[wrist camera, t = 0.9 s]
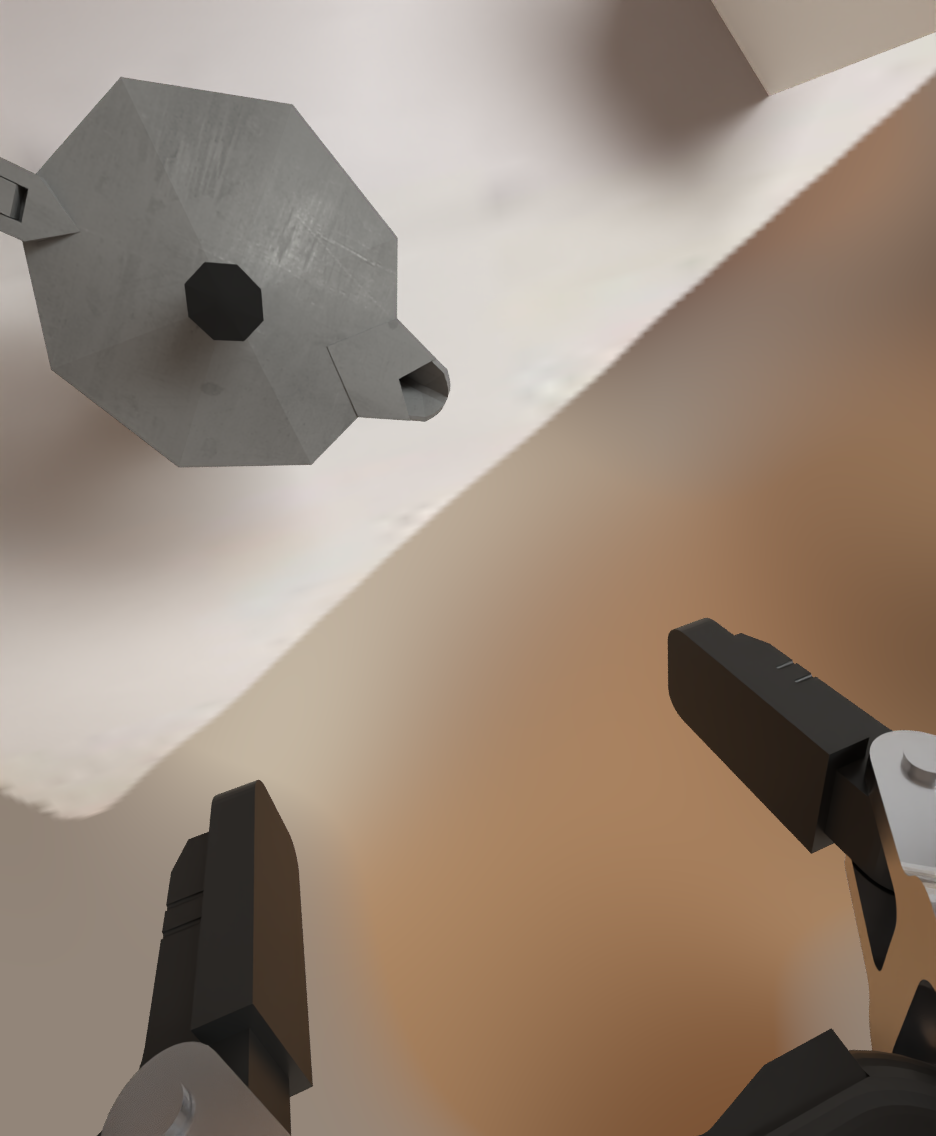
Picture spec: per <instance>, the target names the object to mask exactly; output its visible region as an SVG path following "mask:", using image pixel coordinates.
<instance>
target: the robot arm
mask: <svg viewBox="0 0 936 1136" xmlns="http://www.w3.org/2000/svg"><path fill="white" fill-rule="evenodd" d="M668 689H669V695H670V698H671V701H672V704H673V706H674V708H675V710H676V711H677V713H678V714H679V716H680V717H681V718H682V719H683V721H684V722H685V723H686V724H687V725H688V726H689V727H690V728H691V729H692V730H693V731H694V732H695V733H696V734H697V735H698V736H699V737H700V738H701V739H702V740H703V741H704V742H705V743H706V745H707V746H708V747H709V748H710V749H711V750H712V751H713V752H714V753H715V754H716V755H717V756H718V757H719V758H720V759H721V760H722V761H723V762H724V763H725V764H726V765H727V766H728V767H729V768H730V770H732V772H733V773H734V774H735V775H736V776H737V777H738V778H739V779H740V780H741V781H742V782H743V783H744V784H745V785H746V786H747V787H748V788H749V789H750V790H751V791H752V792H753V793H754V794H755V796H756V797H757V798H758V799H759V800H760V801H761V802H762V803H763V804H764V805H765V806H766V807H767V808H768V809H769V810H770V811H771V812H772V813H773V814H774V815H775V816H776V817H777V818H778V819H779V820H780V822H781V823H782V824H783V825H784V826H785V827H786V828H787V829H788V830H789V831H790V832H791V833H792V834H793V835H794V836H795V837H796V838H797V839H798V840H799V841H800V842H801V843H802V844H803V845H804V846H805V847H806V849H807V850H808V851H809V852H810V853H814V852H816V851H818V850H820V849H823V848H825V847H827V846H829V845H831V844H833V843H835V844H836V845H837V846H838V847H839V848H840V849H841V850H842V851H843V852H844V853H845V854H846V856H845V871H846V875H847V880H848V885H849V890H850V895H851V900H852V904H853V909H854V914H855V919H856V924H857V929H858V934H859V938H860V943H861V948H862V953H863V958H864V963H865V968H866V973H867V978H868V985H869V1027H870V1038H871V1045H872V1051H867V1050H849V1051H848V1049H847V1048H846V1047H845V1045H844V1044H843V1043H842V1041H841V1040H840V1039H839V1038H838V1036H837V1035H836V1034H835V1032H834V1031H833V1030H832V1029H829V1030H828V1031H826V1032H824V1033H822V1034H820V1035H819V1036H817V1037H815V1038H813V1039H811V1040H809V1041H808V1042H806V1043H804V1044H802V1045H800V1046H798V1047H797V1048H795V1049H793V1050H791V1051H789V1052H787V1053H785V1054H784V1055H782V1056H780V1057H778V1058H776V1059H774V1060H773V1061H771V1062H769V1063H767V1064H765V1065H764V1066H763V1067H762V1068H761V1069H760V1071H759V1072H758V1073H757V1074H756V1075H755V1077H754V1078H753V1079H752V1080H751V1081H750V1083H749V1084H748V1085H747V1086H746V1087H745V1088H744V1090H743V1091H742V1092H741V1093H740V1094H739V1096H738V1097H737V1098H736V1099H735V1100H734V1102H733V1103H732V1104H731V1105H730V1106H729V1108H728V1109H727V1110H726V1111H725V1112H724V1114H723V1115H722V1116H721V1117H720V1119H719V1120H718V1121H717V1122H716V1123H715V1124H714V1126H713V1127H712V1128H711V1129H710V1130H709V1131H708V1132H706V1133H704V1134H702V1135H699V1136H936V736H935V735H932V734H928V733H923V732H918V731H908V730H902V731H901V730H900V731H892V730H890V729H889V728H887V727H886V726H884V725H883V724H881V723H880V722H879V721H877V720H875V719H874V718H873V717H872V716H870V715H869V714H867V713H866V712H865V711H863V710H862V709H860V708H859V707H858V706H856V705H855V704H853V703H852V702H851V701H849V700H848V699H846V698H845V697H843V696H842V695H841V694H839V693H838V692H836V691H835V690H834V689H832V688H831V687H830V686H828V685H827V684H825V683H824V682H823V681H821V680H820V679H818V678H817V677H814V678H813V677H812V675H811V673H810V672H809V671H807V670H806V669H804V668H803V667H801V666H800V665H799V664H797V663H796V664H794V663H793V661H792V659H790V658H789V657H787V656H786V655H785V654H783V653H782V652H780V651H779V650H778V649H776V648H775V647H773V646H772V645H771V644H769V643H766V642H764V641H761V640H758V639H755V638H753V637H750V636H747V635H744V634H742V633H740V634H737V635H735V636H734V635H733V634H731V633H730V632H728V631H727V630H726V629H725V628H723V627H722V626H720V625H719V624H718V623H717V622H715V621H714V620H712V619H710V618H704V619H701V620H698V621H695V622H692V623H690V624H687V625H684V626H681V627H679V628H676V629H674V630H671V631H670V633H669V636H668ZM166 905H167V911H165V917H164V923H163V930H162V933H163V939H162V940H161V943H160V950H159V957H158V963H157V970H156V977H155V983H154V990H153V997H152V1003H151V1010H150V1016H149V1023H148V1030H147V1037H146V1043H145V1049H144V1054H143V1058H142V1062H141V1065H140V1068H139V1070H138V1071H137V1072H136V1073H135V1075H134V1076H133V1077H132V1078H131V1079H130V1081H129V1082H128V1083H127V1084H126V1086H125V1087H124V1088H123V1090H122V1091H121V1093H120V1094H119V1096H118V1098H117V1099H116V1101H115V1103H114V1104H113V1106H112V1108H111V1110H110V1112H109V1115H108V1117H107V1119H106V1122H105V1124H104V1126H103V1130H102V1131H101V1132H100V1133H99V1134H98V1135H97V1136H291V1123H290V1122H291V1120H290V1097H291V1096H293V1095H295V1094H298V1093H299V1092H302V1091H304V1090H306V1089H308V1088H310V1087H312V1086H313V1083H312V1068H311V1052H310V1037H309V1021H308V1006H307V991H306V975H305V961H304V944H303V929H302V913H301V899H300V883H299V869H298V862H297V857H296V853H295V849H294V845H293V842H292V839H291V837H290V835H289V832H288V830H287V829H286V826H285V824H284V823H283V821H282V819H281V817H280V815H279V813H278V811H277V809H276V807H275V805H274V803H273V801H272V799H271V797H270V795H269V794H268V791H267V789H266V787H265V786H264V784H263V783H262V782H261V781H260V780H256V781H254V782H251V783H248V784H245V785H243V786H240V787H237V788H235V789H232V790H229V791H226V792H224V793H221V794H218V795H216V796H215V797H214V798H213V800H212V806H211V816H210V827H209V832H207V833H204V834H202V835H199V836H196V837H194V838H191V839H189V840H188V841H187V843H186V845H185V847H184V849H183V851H182V853H181V855H180V857H179V858H178V860H177V862H176V864H175V866H174V868H173V870H172V872H171V878H170V884H169V890H168V897H167V904H166Z"/></svg>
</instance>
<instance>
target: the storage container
mask: <svg viewBox="0 0 936 1136" xmlns="http://www.w3.org/2000/svg"><path fill="white" fill-rule="evenodd" d="M711 1H712V3H713V4H714V6H715V8H716V9H717V11H718V13H719V14H720V16H721V18H722V19H723V21H724V23H725V24H726V26H727V28H728V29H729V31H730V33H731V34H732V36H733V37H734V39H735V41H736V42H737V44H738V46H739V47H740V49H741V51H742V52H743V54H744V56H745V57H746V59H747V61H748V62H749V64H750V66H751V67H752V69H753V71H754V72H755V74H756V76H757V77H758V79H759V80H760V82H761V84H762V85H763V87H764V89H765V90H766V92H767V94H768V95H769V96H770V95H773V94H776V93H778V92H781V91H783V90H786V89H789V88H791V87H794V86H796V85H799V84H802V83H804V82H807V81H810V80H812V79H815V78H817V77H820V76H823V75H825V74H828V73H830V72H833V71H836V70H838V69H841V68H843V67H846V66H849V65H851V64H854V63H856V62H859V61H862V60H864V59H867V58H869V57H872V56H875V55H877V54H880V53H882V52H885V51H888V50H890V49H893V48H895V47H898V46H901V45H903V44H906V43H908V42H911V41H914V40H916V39H919V38H921V37H924V36H927V35H929V34H932V33H934V32H936V0H711Z"/></svg>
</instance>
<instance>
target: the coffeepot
mask: <svg viewBox="0 0 936 1136" xmlns="http://www.w3.org/2000/svg"><path fill="white" fill-rule="evenodd" d="M0 231H1V232H4V233H6V234H8V235H11V236H13V237H15V238H17V239H20V240H22V242H23V246H24V250H25V255H26V259H27V264H28V268H29V273H30V277H31V282H32V286H33V291H34V295H35V299H36V304H37V308H38V313H39V317H40V322H41V326H42V331H43V335H44V339H45V344H46V348H47V353H48V357H49V362H50V366H51V370H53V371H54V372H55V373H57V374H58V375H59V376H61V377H62V378H63V379H64V380H66V381H67V382H68V383H70V384H71V385H72V386H74V387H75V388H76V389H77V390H79V391H80V392H81V393H83V394H84V395H85V396H87V397H88V398H89V399H90V400H92V401H93V402H94V403H96V404H97V405H98V406H100V407H101V408H102V409H103V410H105V411H106V412H107V413H109V414H110V415H111V416H113V417H114V418H115V419H116V420H118V421H119V422H120V423H122V424H123V425H124V426H126V427H127V428H128V429H129V430H131V431H132V432H133V433H135V434H136V435H137V436H139V437H140V438H141V439H142V440H144V441H145V442H146V443H148V444H149V445H150V446H152V447H153V448H154V449H155V450H157V451H158V452H159V453H161V454H162V455H163V456H165V457H166V458H167V459H168V460H170V461H171V462H172V463H174V464H175V465H176V466H178V467H222V466H271V465H312V464H313V463H314V461H315V460H316V459H317V458H318V457H319V456H320V455H321V454H322V453H323V452H324V451H325V450H326V449H327V448H328V447H329V446H330V445H331V444H332V443H333V442H334V441H335V440H336V439H337V438H338V437H339V436H340V435H341V434H342V433H343V432H344V431H345V430H346V429H347V428H348V427H349V426H350V425H351V424H352V423H353V422H354V421H355V420H356V419H357V417H364V418H379V419H393V420H408V421H410V420H413V421H423V422H425V421H427V420H429V419H431V418H432V417H434V416H435V415H437V414H438V413H439V412H440V411H441V410H442V408H443V406H444V404H445V402H446V400H447V398H448V394H449V391H450V379H449V375H448V371H447V369H446V368H445V367H444V366H443V365H442V364H441V363H440V362H439V361H438V360H437V359H436V358H435V357H434V356H433V355H432V354H431V353H430V352H429V351H428V350H427V349H426V348H425V347H424V346H423V345H422V344H421V343H420V342H419V341H418V339H417V338H416V337H415V336H414V335H413V334H412V333H411V332H410V331H409V330H408V329H407V328H406V327H405V326H404V325H403V324H402V323H401V322H400V321H399V320H398V319H397V236H396V235H395V234H394V233H393V231H392V230H391V229H390V228H389V226H388V225H387V224H386V223H385V221H384V220H383V219H382V217H381V216H380V215H379V214H378V212H377V211H376V210H375V209H374V207H373V206H372V205H371V203H370V202H369V201H368V200H367V198H366V197H365V196H364V195H363V193H362V192H361V191H360V190H359V188H358V187H357V186H356V184H355V183H354V182H353V181H352V179H351V178H350V177H349V176H348V174H347V173H346V172H345V170H344V169H343V168H342V167H341V165H340V164H339V163H338V162H337V160H336V159H335V158H334V157H333V155H332V154H331V153H330V151H329V150H328V149H327V148H326V146H325V145H324V144H323V143H322V141H321V140H320V139H319V137H318V136H317V135H316V134H315V132H314V131H313V130H312V129H311V127H310V126H309V125H308V124H307V122H306V121H305V120H304V118H303V117H302V116H301V115H300V113H299V112H298V111H297V110H296V108H295V107H294V106H293V105H292V104H286V103H280V102H274V101H267V100H261V99H255V98H248V97H242V96H236V95H230V94H223V93H217V92H211V91H205V90H198V89H192V88H186V87H180V86H173V85H167V84H161V83H154V82H148V81H142V80H136V79H129V78H123V77H120V79H119V80H118V81H117V82H116V83H115V84H114V85H113V87H112V88H111V89H110V90H109V91H108V92H107V93H106V95H105V96H104V97H103V98H102V99H101V100H100V101H99V103H98V104H97V105H96V106H95V107H94V108H93V109H92V111H91V112H90V113H89V114H88V115H87V116H86V117H85V119H84V120H83V121H82V122H81V123H80V124H79V125H78V127H77V128H76V129H75V130H74V131H73V132H72V133H71V135H70V136H69V137H68V138H67V139H66V140H65V141H64V143H63V144H62V145H61V146H60V147H59V148H58V149H57V150H56V152H55V153H54V154H53V155H52V156H51V157H50V158H49V160H48V161H47V162H46V163H45V164H44V165H43V166H42V168H41V169H40V170H39V171H38V172H37V173H36V174H34V173H32V172H30V171H28V170H26V169H24V168H22V167H20V166H18V165H15V164H13V163H11V162H9V161H7V160H5V159H3V158H1V157H0Z"/></svg>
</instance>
